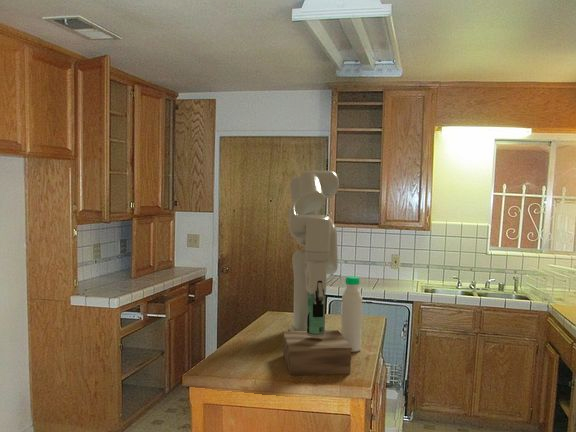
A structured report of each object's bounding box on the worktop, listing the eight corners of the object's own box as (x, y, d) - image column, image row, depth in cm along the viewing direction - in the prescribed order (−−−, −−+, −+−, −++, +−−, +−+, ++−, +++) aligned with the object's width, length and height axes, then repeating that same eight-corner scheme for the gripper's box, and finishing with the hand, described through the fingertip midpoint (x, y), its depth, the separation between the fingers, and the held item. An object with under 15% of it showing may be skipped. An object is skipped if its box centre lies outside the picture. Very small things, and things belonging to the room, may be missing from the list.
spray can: (326, 333, 159) (327, 270, 158) (321, 337, 154) (323, 272, 153) (309, 331, 161) (311, 269, 160) (304, 335, 156) (305, 271, 155)
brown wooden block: (282, 355, 166) (282, 331, 166) (337, 353, 168) (338, 330, 168) (289, 375, 148) (290, 348, 147) (351, 374, 150) (352, 347, 150)
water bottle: (356, 353, 169) (357, 279, 168) (337, 350, 173) (338, 277, 171) (364, 348, 175) (366, 276, 174) (346, 344, 179) (347, 274, 177)
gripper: (301, 253, 164) (300, 308, 165) (310, 260, 147) (308, 321, 148) (323, 253, 165) (322, 307, 166) (335, 260, 148) (333, 321, 149)
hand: (316, 313), depth 157 cm, fingers closed on spray can, 5 cm apart
